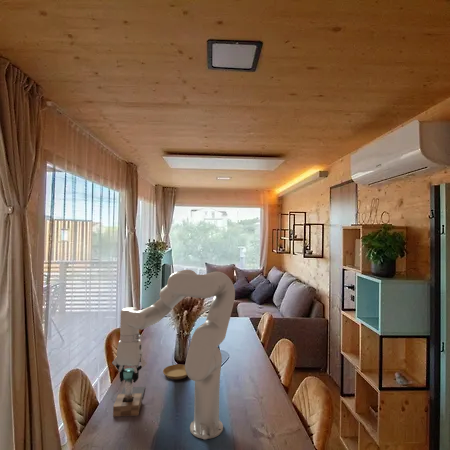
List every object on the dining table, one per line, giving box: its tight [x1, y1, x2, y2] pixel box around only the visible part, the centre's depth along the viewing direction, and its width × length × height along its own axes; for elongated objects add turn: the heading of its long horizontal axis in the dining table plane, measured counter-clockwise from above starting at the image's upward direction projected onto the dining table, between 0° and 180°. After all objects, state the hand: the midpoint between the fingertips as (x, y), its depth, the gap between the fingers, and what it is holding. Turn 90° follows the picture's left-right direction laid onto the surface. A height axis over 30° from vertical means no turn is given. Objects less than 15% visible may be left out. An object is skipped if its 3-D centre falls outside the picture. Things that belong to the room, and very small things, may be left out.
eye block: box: [112, 393, 143, 417], centre depth 136 cm, size 10×10×4 cm
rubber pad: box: [120, 386, 146, 399], centre depth 149 cm, size 10×10×1 cm
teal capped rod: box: [123, 367, 134, 402], centre depth 136 cm, size 5×5×15 cm
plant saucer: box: [162, 363, 188, 380], centre depth 169 cm, size 15×15×3 cm
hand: (129, 380), depth 136 cm, fingers closed on teal capped rod, 5 cm apart
